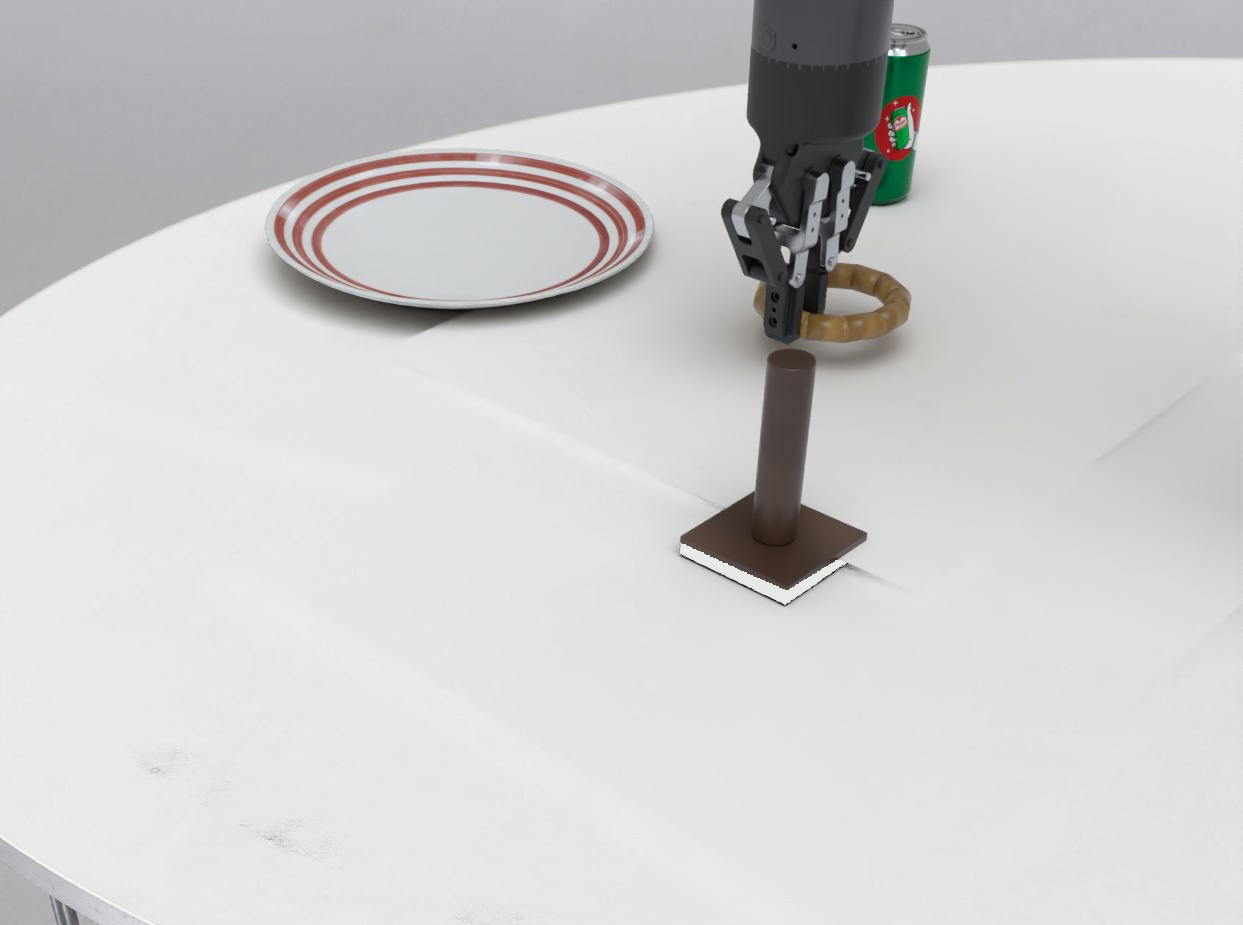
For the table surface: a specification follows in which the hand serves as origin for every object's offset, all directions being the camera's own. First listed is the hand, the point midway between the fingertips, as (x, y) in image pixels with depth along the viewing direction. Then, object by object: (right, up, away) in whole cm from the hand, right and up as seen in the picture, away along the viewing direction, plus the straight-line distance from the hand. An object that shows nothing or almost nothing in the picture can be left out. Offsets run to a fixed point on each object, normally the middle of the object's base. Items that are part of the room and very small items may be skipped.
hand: (793, 331), depth 100 cm
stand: (-4, -15, -14) cm, 21 cm away
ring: (+3, +2, +2) cm, 4 cm away
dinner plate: (-21, +9, +17) cm, 28 cm away
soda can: (+11, +17, +25) cm, 32 cm away
